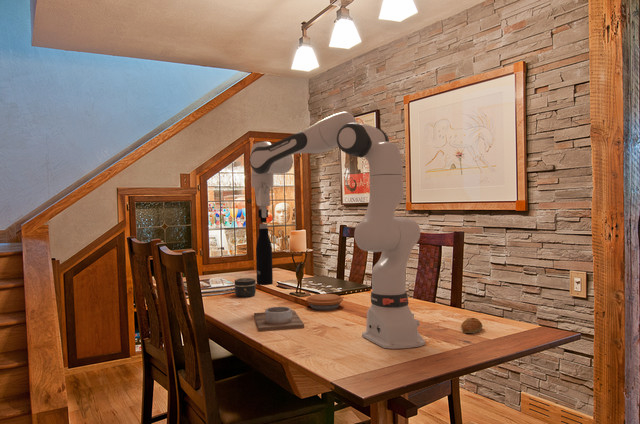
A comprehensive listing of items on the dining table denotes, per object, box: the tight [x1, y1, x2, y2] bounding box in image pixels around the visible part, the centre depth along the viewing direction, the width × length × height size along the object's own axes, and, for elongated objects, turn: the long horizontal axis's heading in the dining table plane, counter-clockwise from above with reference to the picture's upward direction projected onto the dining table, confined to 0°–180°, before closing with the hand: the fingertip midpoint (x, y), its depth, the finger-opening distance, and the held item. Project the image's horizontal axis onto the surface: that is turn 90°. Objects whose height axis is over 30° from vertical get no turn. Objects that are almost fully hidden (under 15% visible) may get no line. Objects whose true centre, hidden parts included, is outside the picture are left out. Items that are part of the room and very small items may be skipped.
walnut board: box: [253, 309, 305, 332], centre depth 180 cm, size 22×16×1 cm
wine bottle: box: [255, 208, 274, 286], centre depth 194 cm, size 6×6×30 cm
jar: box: [234, 277, 257, 298], centre depth 229 cm, size 10×10×8 cm
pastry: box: [460, 317, 483, 335], centre depth 163 cm, size 9×7×4 cm
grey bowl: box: [264, 306, 293, 324], centre depth 177 cm, size 10×10×4 cm
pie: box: [306, 293, 344, 311], centre depth 202 cm, size 16×16×5 cm
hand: (263, 217), depth 194 cm, fingers closed on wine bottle, 4 cm apart
